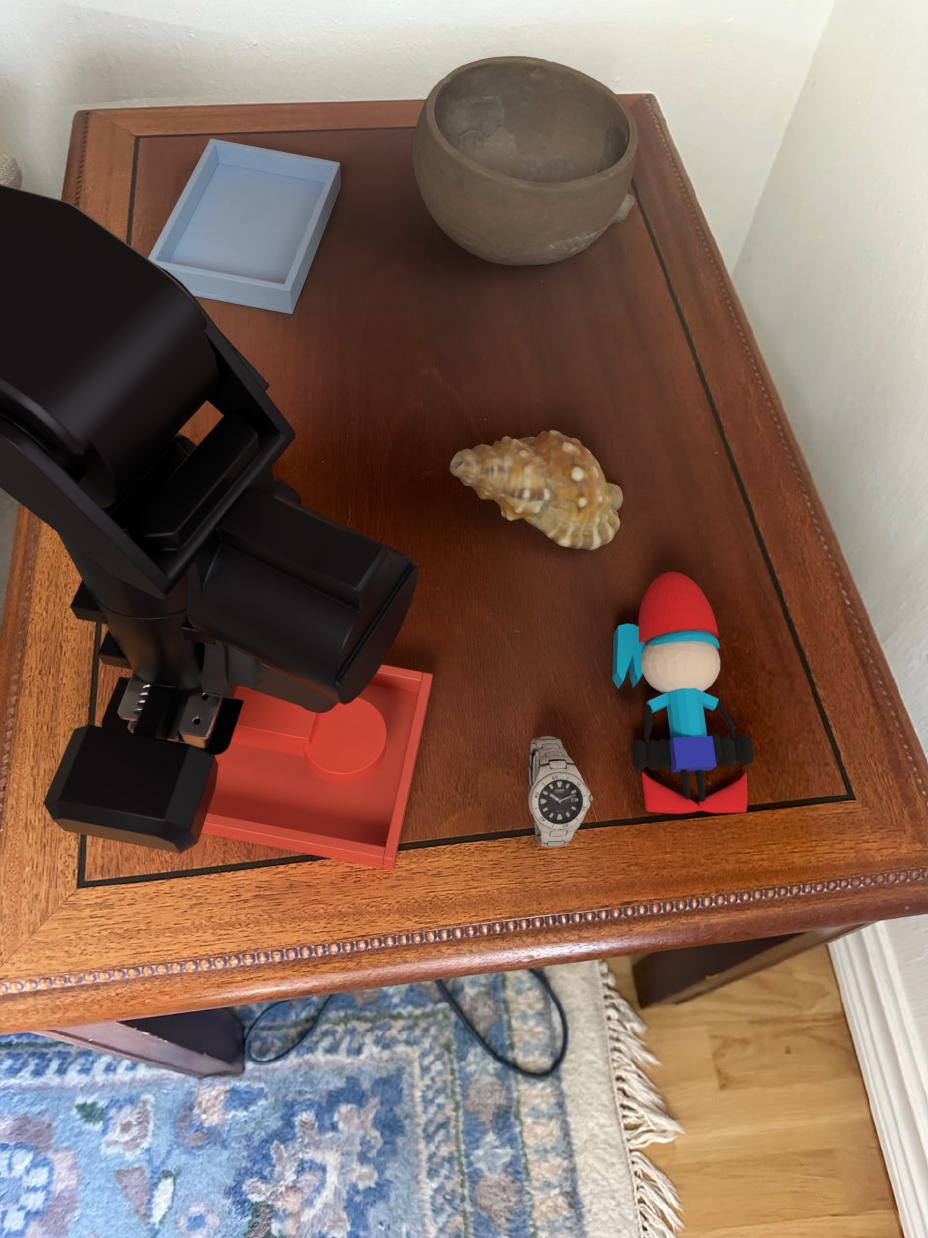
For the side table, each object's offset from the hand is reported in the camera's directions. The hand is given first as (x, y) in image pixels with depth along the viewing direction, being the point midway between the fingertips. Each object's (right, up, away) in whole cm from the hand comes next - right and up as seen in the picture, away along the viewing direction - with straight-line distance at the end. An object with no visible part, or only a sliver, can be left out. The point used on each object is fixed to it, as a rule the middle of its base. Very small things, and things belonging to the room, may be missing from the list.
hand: (215, 713), depth 49 cm
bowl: (+18, +39, +28) cm, 51 cm away
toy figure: (+27, 0, +7) cm, 28 cm away
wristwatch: (+18, -6, +3) cm, 20 cm away
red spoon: (+3, -1, +1) cm, 4 cm away
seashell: (+18, +13, +14) cm, 26 cm away
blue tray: (-4, +37, +25) cm, 45 cm away
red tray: (+3, -3, +3) cm, 5 cm away
